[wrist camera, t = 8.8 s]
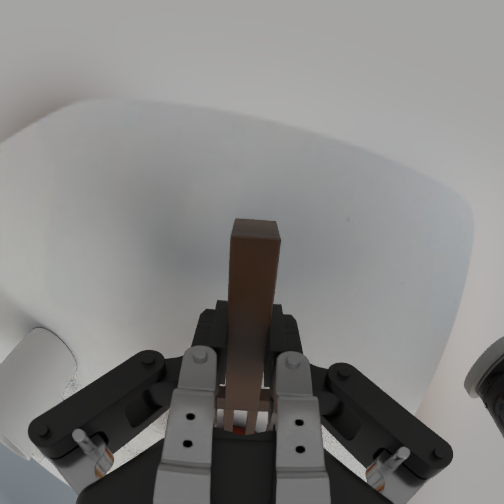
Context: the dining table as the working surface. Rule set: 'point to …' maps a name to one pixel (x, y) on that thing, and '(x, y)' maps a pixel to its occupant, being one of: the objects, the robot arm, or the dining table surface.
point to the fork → (249, 318)
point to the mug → (32, 387)
